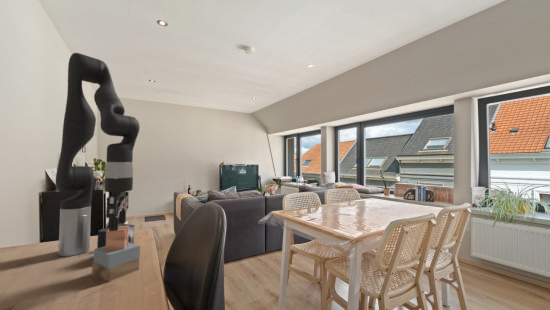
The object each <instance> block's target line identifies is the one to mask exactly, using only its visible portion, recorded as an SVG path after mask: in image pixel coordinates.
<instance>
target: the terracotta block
mask: <svg viewBox="0 0 550 310" xmlns="http://www.w3.org/2000/svg"><path fill="white" fill-rule="evenodd" d="M128 239H129V226H118V230H116V231H109V229H108V230H107V231H106V251H109V250H118V249H125V248H126V246H127V245H128Z"/></svg>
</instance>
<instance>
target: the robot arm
mask: <svg viewBox="0 0 550 310" xmlns="http://www.w3.org/2000/svg"><path fill="white" fill-rule="evenodd" d="M83 82H86V83H90V84H97V85H98V86H99V87H98V88H97V89H96V90H95V92H94V95H93V101H94V102H95V105H96V107H97V109H98V111H99V114H100V129H101V131H102V132H103V133H104V134H105V135H108V136H114V137H122V140H121V141H120V142H117V143H110V144H108V145H107V147H106V163H105V169H104V173H105V174H104V192H106V193H111V196H108V197H107V198H106V211H105V212H106V213H105V218H106V219H107V218H108V221H109V222H108V228H109V231H116V230H118V224H124V223H125V222H127V211H128V209H129V195H130V194H129V192H130V191H133V188H134V187H133V184H134V183H133V182H134V165H133V154H134V152H133V151H134V147H135V144H136V142H137V138H138V135H139V132H140V123H139V120H138V119H137V118H136V117H134V116H130V115H126V114H125V112H126V111H125V107H124V105H123V103H122V101H121V100H120V98H119V96H118V94H117V92H116V89H115V86H114V82H113V79H112V76H111V72H110V69H109V66H108V65H107V63H106V62H104V61H103V60H101V59H99V58H96V57H92V56H89V55H85V54H83V53H79V52H74V53H72V54H70V56H69V61H68V67H67V92H66V93H67V96H66V103H65V111H64V118H63V126H62V137H61V138H62V140H61V148H60V149H61V150H60V154H59V159H58V164H57V167H56V168H57V169H56V173H55V186H56V188H57V190H58V191H78V190H79V191H78V192H77V194H75V195H73V196H71V197H68V198H66V199H63V200H61V202H60V203H59V204H60V205H59V206H60V207H59V229H58V230H59V231H58V232H59V234H58V253H57V254H58V256H59V257H68V256H69V257H70V256H75V255H79V254H83V253H84V254H85V253H86V252H88V251H89V250H90V248H91V247H90V244H91V242H90V241H91V218H92V217H91V216H92V215H91V214H92V199H93V187H94V177H95V176H94V170H93V168H92V167H91V166H88V165H87V166H86V165H85V166H84V165H83V166H82V165H79V166H78V165H76V166H75V165H73V162H74V159H75V158H76V157H77V154H78V153H79V152H80V151H81V150H82V149H83V148H84V147H85V146H86V145H87V144H89V142H90V141H92V139H93V138H94V137H93V136H94V134H95V130H96V129H95V128H96V122H97V121H96V120H97V119H96V115H95V112H94V110H93V109H92V107H91V106H90V104H89V102H88V101H87V99H86V97H85V94H84V91H83ZM72 165H73V166H72Z"/></svg>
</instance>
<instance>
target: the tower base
mask: <svg viewBox="0 0 550 310" xmlns="http://www.w3.org/2000/svg"><path fill="white" fill-rule="evenodd" d="M138 270H140V258H139V259H136V260H133V261H130V262H127V263H124V264H121V265H118V266H115V267H112V268H110V269H108V268H106V267H103V266H101V265H99V264H97V263H94V262H92V268H91V272H92V273H91V276H93V277H96V278H98V279H101V280H104V281H106V282H112V281H115V280H117V279H120V278H122V277H124V276H127V275H129V274H132V273H133V272H136V271H138Z"/></svg>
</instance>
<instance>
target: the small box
mask: <svg viewBox="0 0 550 310" xmlns="http://www.w3.org/2000/svg"><path fill="white" fill-rule="evenodd" d="M118 226H129V239H128V242H129V243H133V244H135V242H134V241H135V224H129V223H128V224H119V225H118ZM108 229H109V227H106V228H102V229H99V230H97V244H96V245H97V246H96V247H97V248H101V247H104V246H106V231H107V230H108ZM97 248H96V249H97Z"/></svg>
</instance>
